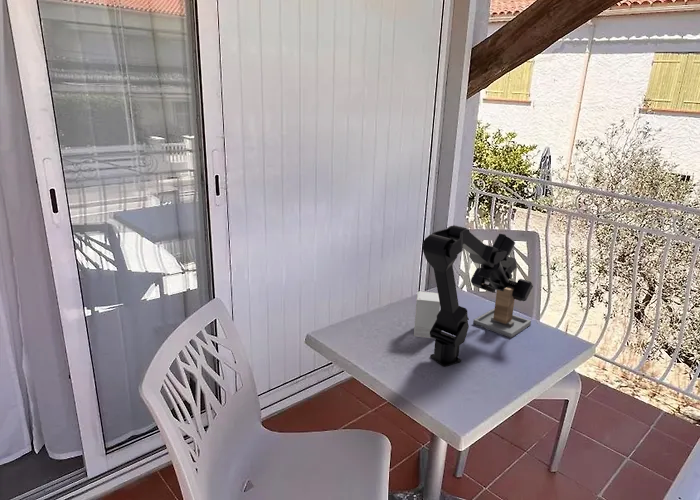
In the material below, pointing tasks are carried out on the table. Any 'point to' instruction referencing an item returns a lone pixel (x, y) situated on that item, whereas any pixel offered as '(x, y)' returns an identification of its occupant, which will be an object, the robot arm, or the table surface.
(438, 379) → the table surface
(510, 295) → the tan slab
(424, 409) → the table surface
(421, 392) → the table surface
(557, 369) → the table surface
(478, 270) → the robot arm
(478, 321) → the box
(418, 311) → the supplement box
